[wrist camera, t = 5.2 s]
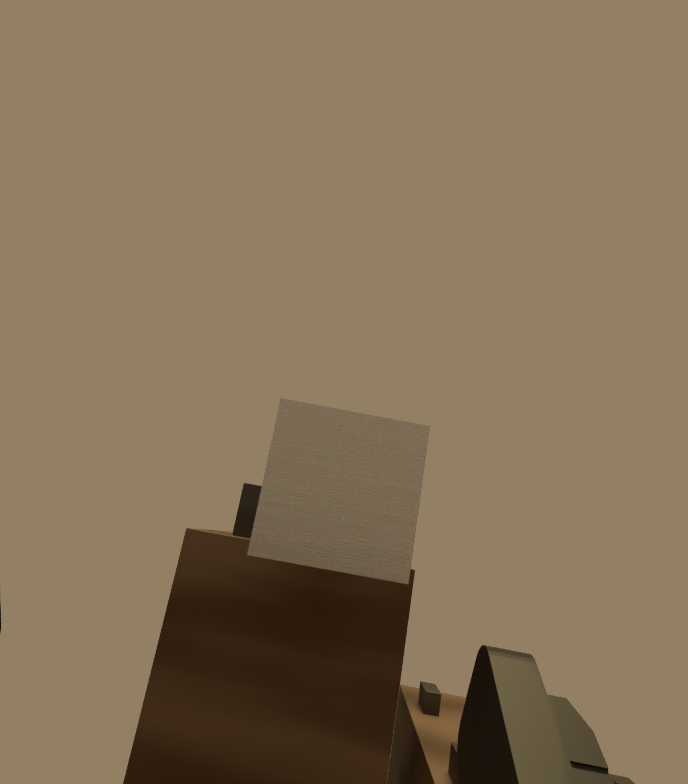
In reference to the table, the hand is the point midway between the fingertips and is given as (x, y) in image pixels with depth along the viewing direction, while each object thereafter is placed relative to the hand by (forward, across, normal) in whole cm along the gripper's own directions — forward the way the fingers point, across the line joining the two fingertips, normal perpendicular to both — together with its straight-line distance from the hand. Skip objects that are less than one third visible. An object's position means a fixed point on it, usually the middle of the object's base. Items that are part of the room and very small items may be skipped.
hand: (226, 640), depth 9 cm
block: (+12, 0, +5) cm, 13 cm away
